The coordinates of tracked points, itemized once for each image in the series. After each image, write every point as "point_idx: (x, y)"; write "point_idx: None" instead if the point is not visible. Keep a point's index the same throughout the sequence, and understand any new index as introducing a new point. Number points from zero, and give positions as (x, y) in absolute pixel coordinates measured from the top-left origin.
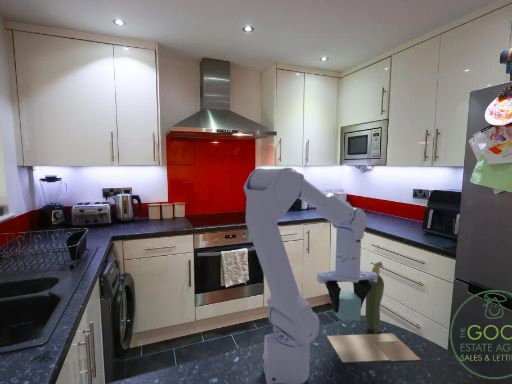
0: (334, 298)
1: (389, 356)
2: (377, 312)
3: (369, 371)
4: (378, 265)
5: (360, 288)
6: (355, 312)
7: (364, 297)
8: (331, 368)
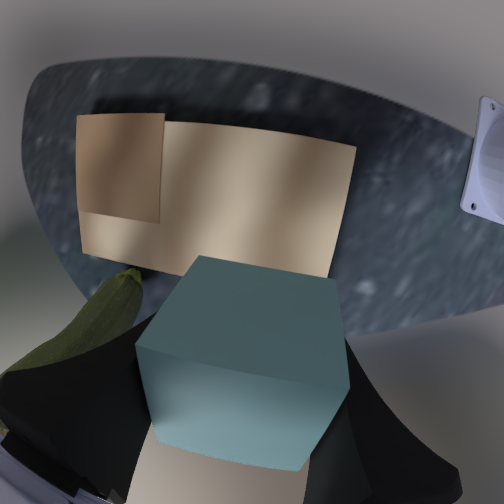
0: (388, 409)
1: (155, 137)
2: (83, 313)
3: (265, 104)
4: None
5: (92, 431)
6: (220, 287)
7: (98, 351)
8: (393, 155)
